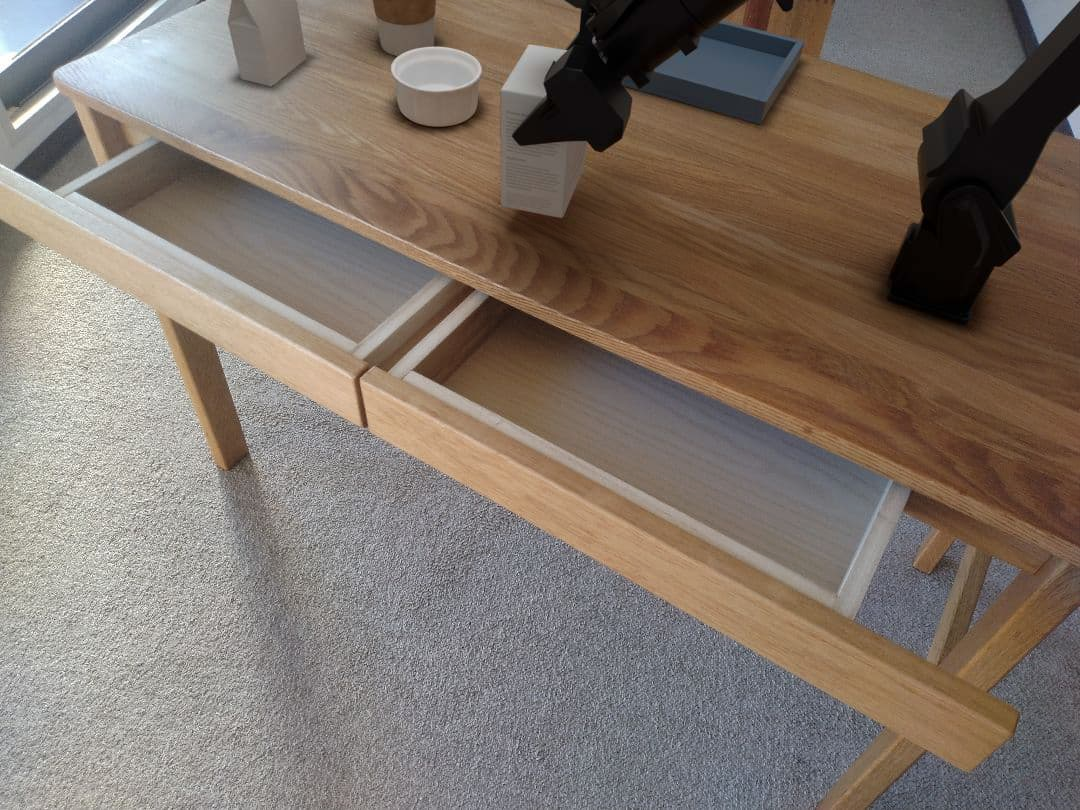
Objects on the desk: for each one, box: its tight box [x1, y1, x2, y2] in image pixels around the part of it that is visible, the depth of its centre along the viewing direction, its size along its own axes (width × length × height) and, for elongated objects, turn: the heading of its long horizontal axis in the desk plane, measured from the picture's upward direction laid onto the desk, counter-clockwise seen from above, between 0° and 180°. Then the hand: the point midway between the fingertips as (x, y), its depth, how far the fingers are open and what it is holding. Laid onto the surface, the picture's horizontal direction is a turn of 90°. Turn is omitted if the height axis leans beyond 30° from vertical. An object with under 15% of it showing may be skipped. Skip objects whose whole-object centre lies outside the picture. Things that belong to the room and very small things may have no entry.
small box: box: [499, 43, 588, 219], centre depth 68 cm, size 8×6×10 cm
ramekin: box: [390, 46, 483, 128], centre depth 84 cm, size 9×9×4 cm
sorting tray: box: [622, 20, 806, 125], centre depth 92 cm, size 16×16×2 cm
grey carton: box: [227, 0, 307, 87], centre depth 85 cm, size 4×7×10 cm, turn 159°
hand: (529, 113), depth 67 cm, fingers closed on small box, 8 cm apart
